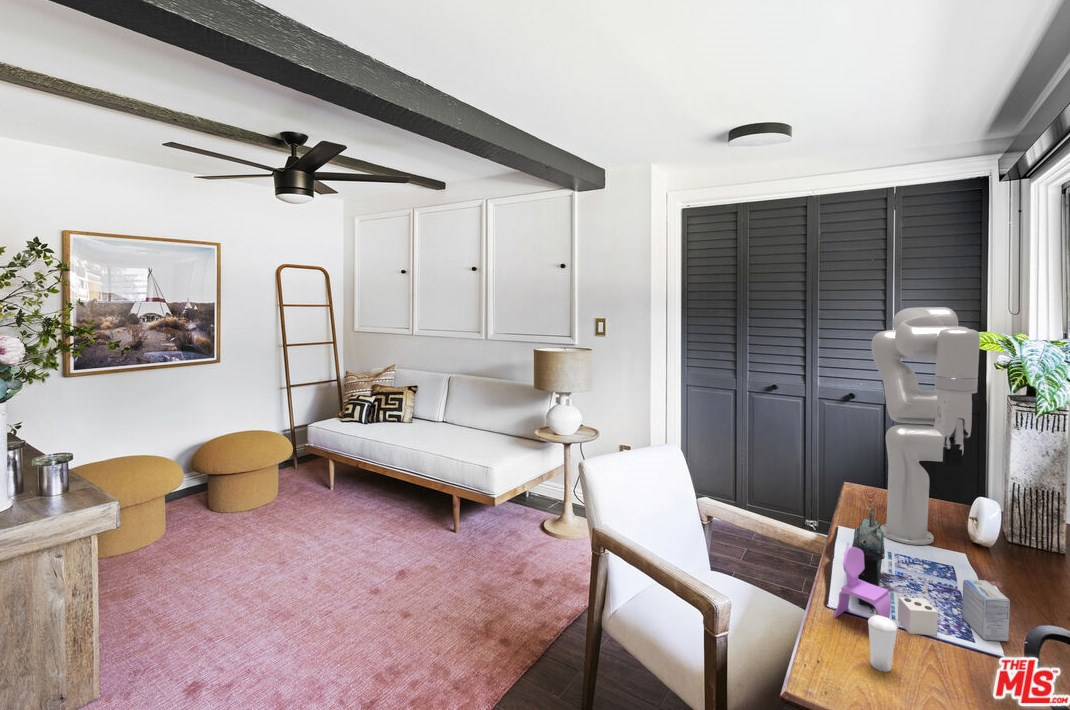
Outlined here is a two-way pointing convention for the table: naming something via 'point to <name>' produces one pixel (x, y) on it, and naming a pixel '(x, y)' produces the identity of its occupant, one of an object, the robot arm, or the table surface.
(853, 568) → the toy chair
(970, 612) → the medicine box
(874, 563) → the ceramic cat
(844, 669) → the table surface
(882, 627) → the milkshake
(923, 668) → the table surface
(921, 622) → the dotted block three
